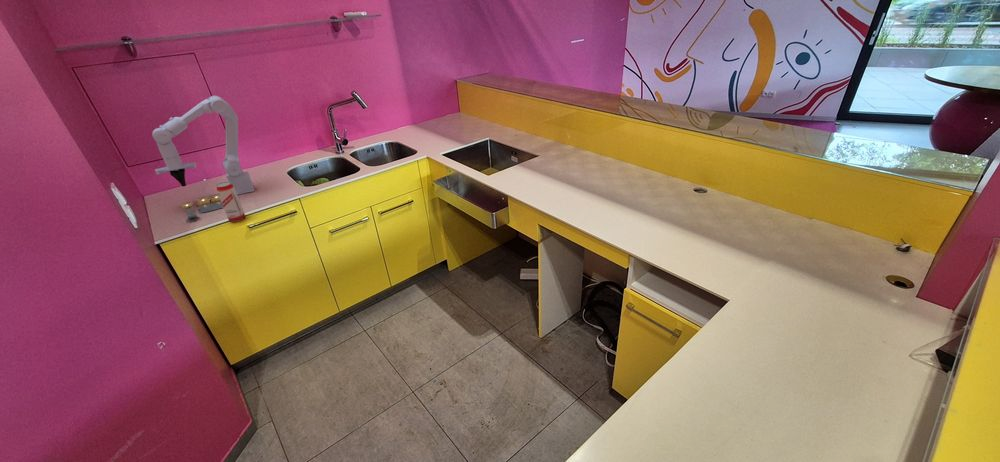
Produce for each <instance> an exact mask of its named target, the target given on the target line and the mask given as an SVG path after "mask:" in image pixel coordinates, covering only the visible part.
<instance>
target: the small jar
mask: <svg viewBox="0 0 1000 462" xmlns="http://www.w3.org/2000/svg"><path fill="white" fill-rule="evenodd" d="M193 205H194V203H193V201H192V202H191V201H190V202H189V201H188V202H184V203H182V204H181V205H180V206H181V208H182V209H183V210H184V212H185V215H186V216H187V219H189V220H195V219H197V218H198V217H199V216H198V215H197V213H196V210H195V208H194V206H193ZM197 216H198V217H197Z"/></svg>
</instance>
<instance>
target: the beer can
mask: <svg viewBox="0 0 1000 462" xmlns="http://www.w3.org/2000/svg"><path fill="white" fill-rule="evenodd" d="M216 194H218V195H219V198H220V200H221V203H222V205H223V207H224V208H223V209H224V212H225V214H226V216H227V219H228V221H230V222H233V223H235V222H236V223H237V222H240V221H242V220H243V219H244V218H245V216H246V214H245V212H244V209H243V207H242V203H241V201H240V199H239V195H237V193H236V191H235V188H234V186H233V185H232V184H231V182H228V181H223V182H220V183H217V184H216Z"/></svg>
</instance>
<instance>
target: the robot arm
mask: <svg viewBox="0 0 1000 462" xmlns="http://www.w3.org/2000/svg"><path fill="white" fill-rule="evenodd" d="M213 112H214V113H217V114H219V115H220V116H221V117H223V118H224V121H225V126H224V127H225V130H224V131H225V154H224V160H223V162H222V167H223V169H224V170H225V171H226V174H225V176H226V179H227V182H231V184H232V185H233V186H234V188H235V191H236V193H237V196H240V195H244V194H248V193H252V192H255V187H254V185H255V184H254V182H253V181H252V179H251V175H250V173H249V171H243V168H242V166H241V164H240V158H239V116H238V115H237V113H236V112H235V110H234V109H233V107H232V106H231V104H229V103H228V102H227V101H226V100H225V99H223V98H222V97H220V96H219V95H211V96H209V97H208V98H206V99H204V100H202V101H200V102H199V103H198V104H197V105H195V106H194V107H192V108H191V109H190V110H189V111H187V112H186V113H184V114H183V115H182V116H175V117H172V116H171V117H170V118H169V119H168V121H167V122H166V123H164V124H160V125H159V127H156V128H155V129H154V130H152V133H151V134H152V138H153V140H154V141H155V142H156V146H157V147H158V150H159V153H160V155H161V157H162V159H163V161H164V163H165V166H164V167H160V168H155V169H154V171H155V174H156V175H161V174H166V173H170V176H171V177H173V178H174V179H175V180H177V181H178V183H179V184H180V185H181V187H186V186H187V183H186V177H185V176H186V170H187V169H192V168H197V163H196V162H195V161H194V162H193V161H192V162H183V161H182V159H181V156H180V154H179V152H178V149H177V148H176V145H175V144H174V143H173V141H172V138H175V137H176V136H178V135H179V134H180V133H182V132H183V131H185V130H186V129H187V128H188V124H189V123H190V122H192V121H195V119H197V118H198V117H201V115H204V114H213Z"/></svg>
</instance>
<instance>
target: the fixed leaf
mask: <svg viewBox="0 0 1000 462" xmlns="http://www.w3.org/2000/svg"><path fill="white" fill-rule="evenodd" d="M206 197H209V198H210V200H211V202H212V203H213V202H218V201H221V200H220V198H219V195H218V193H216V194H211V195H207V196H202V197H198V199H202V198H206Z"/></svg>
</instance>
